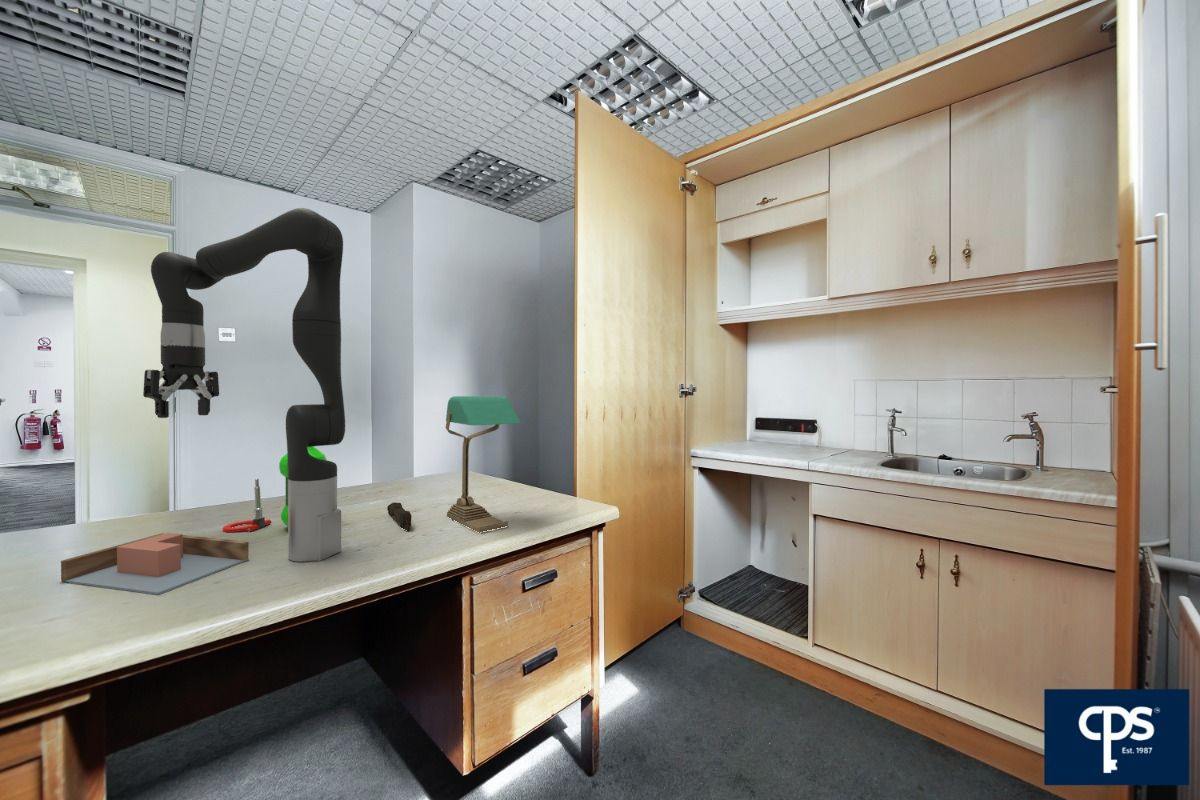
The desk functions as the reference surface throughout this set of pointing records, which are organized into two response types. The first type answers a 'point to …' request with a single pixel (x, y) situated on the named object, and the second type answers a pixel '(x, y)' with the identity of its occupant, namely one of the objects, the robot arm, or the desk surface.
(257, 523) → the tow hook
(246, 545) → the walnut corner walls
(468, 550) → the desk surface
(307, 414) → the robot arm
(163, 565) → the bracket
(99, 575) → the rubber mat
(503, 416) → the banker's lamp
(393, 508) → the dark brown rough bar
